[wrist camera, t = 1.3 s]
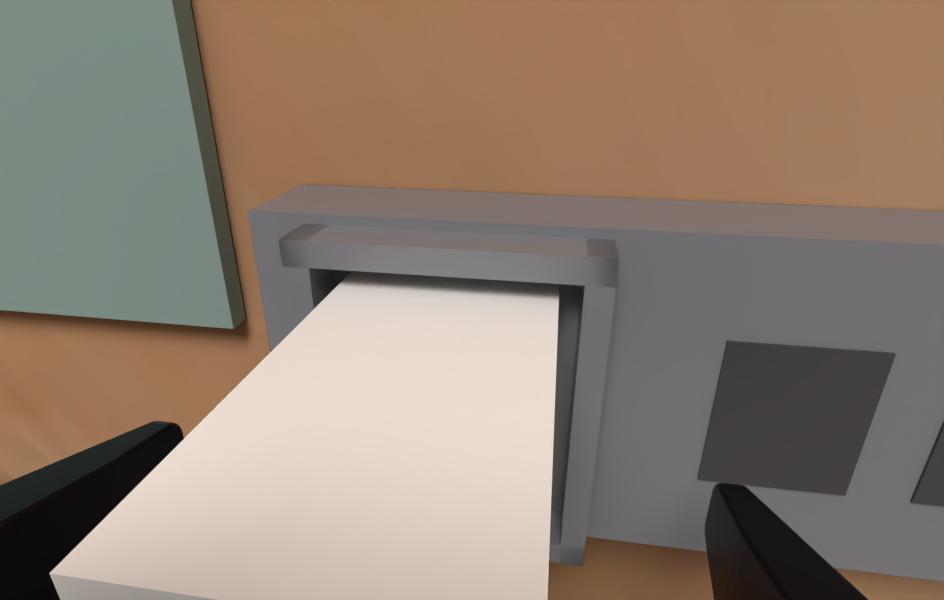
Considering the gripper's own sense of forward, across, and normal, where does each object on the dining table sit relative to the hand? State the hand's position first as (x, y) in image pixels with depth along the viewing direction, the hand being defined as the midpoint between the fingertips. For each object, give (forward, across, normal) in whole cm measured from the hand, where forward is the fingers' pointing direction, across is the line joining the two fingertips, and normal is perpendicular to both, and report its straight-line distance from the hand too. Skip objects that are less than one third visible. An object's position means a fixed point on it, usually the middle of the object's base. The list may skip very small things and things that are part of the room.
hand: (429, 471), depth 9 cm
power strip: (+5, -5, 0) cm, 7 cm away
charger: (+3, 0, 0) cm, 3 cm away
